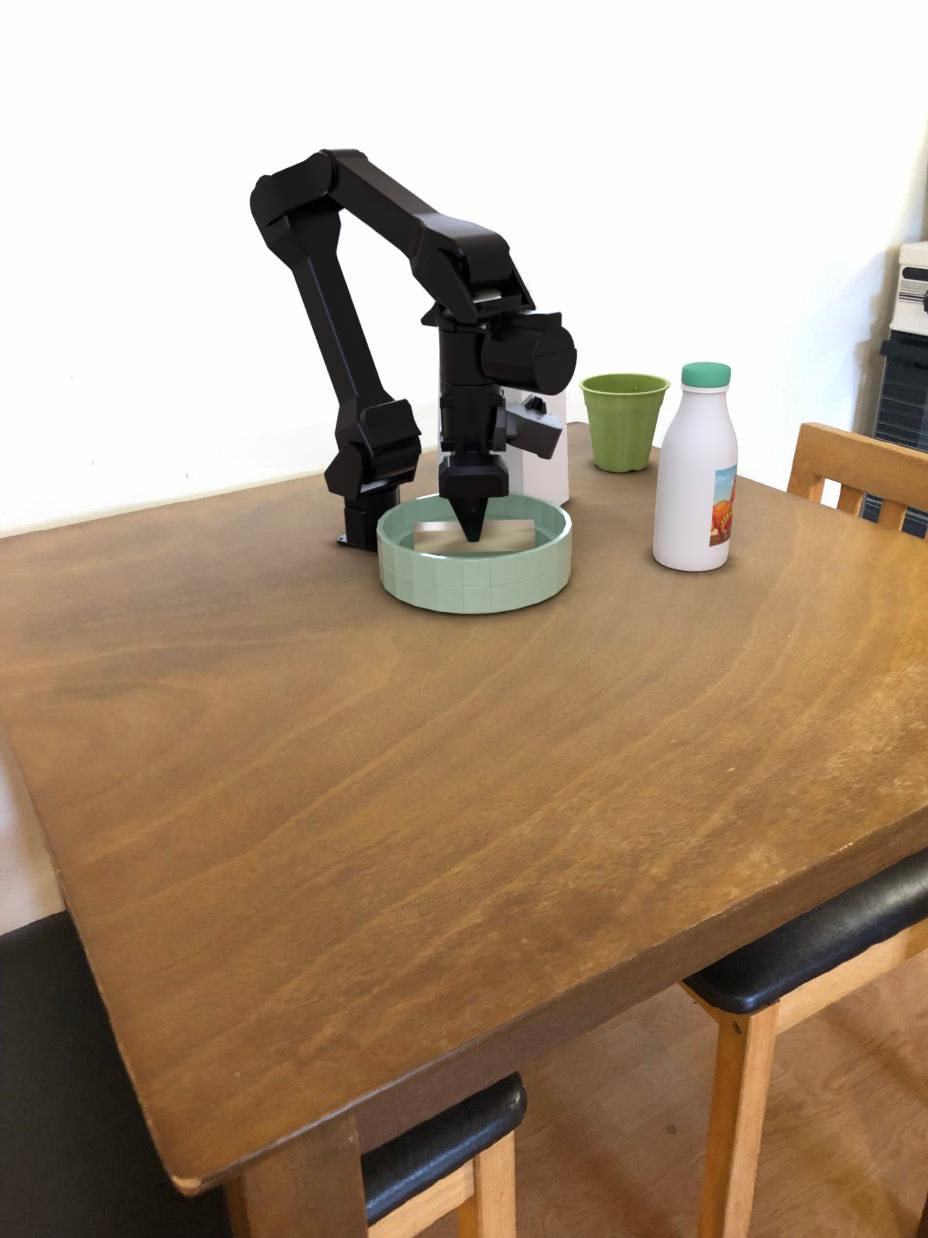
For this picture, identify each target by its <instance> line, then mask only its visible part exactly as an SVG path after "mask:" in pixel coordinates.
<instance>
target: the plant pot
mask: <svg viewBox="0 0 928 1238" xmlns="http://www.w3.org/2000/svg"><path fill="white" fill-rule="evenodd" d="M671 385H672V384H671V381H670V380H668V379H667V378H665V377H662V376H659V375H655V374H648V373H640V372H639V373H637V372H610V373H609V372H608V373H600V374H595V375H591V376H588V377H584V378H583V379H581V380H580V381H579V382H578V388H580V390H582V395H583V401H584V405H585V407H586V412H587V413H586V414H587V419H588V427H589V435H590V442H591V449H592V457H593V463H594V466H597V468H599V469H600V470H603V471H605V472H614V473H619V474H622V473H627V472H629V471H632V470H634V471H641V470H643V469H645V468H646V467H647V466H648V464H649V460H650V456H651V452H652V447H653V443H654V442H653V441H654V437H655V433H656V429H657V423H658V420H659V416H660V410H661V407H662V406H663V403H664V400H665V396H666V392H667V390H668V389H669V388H670V387H671Z"/></svg>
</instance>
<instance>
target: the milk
mask: <svg viewBox="0 0 928 1238" xmlns="http://www.w3.org/2000/svg"><path fill="white" fill-rule="evenodd" d="M523 282H524V284H525V286H526V288H527V290H528V291H529V294H530V296H531V298H532V300H533V302H534V303H535V306H536V310H535V311H539V312H541V310H540V309H538V305H537V302H536V300H535V297H534V294H533V291H532V288H531V285H530V282H529V281H527V280H523ZM498 298H501V297H500V296H498V297H496V298H493V299H498ZM488 300H492V299H488ZM482 301H486V300H482ZM477 302H481V301H477ZM474 303H475V302H474ZM439 380H440V379H439V378H438V391H437V392H438V393H437V394H438V396H437V398H438V399H437V401H438V402H437V460H436V461H437V463H436V465H437V466H436V467H437V470H436V494H437V493H439V482H438V472H439V465H440V464H441V458H442V457H443V456H448V455H450V452H441V444H440V424H441V410H440V382H439ZM501 388H503V389H504V396H505V398H506V401H508V402H511V403H515V402H518V403H520V404H521V403H522V402H523V401H524V400H525V399H526V398H527V397H528V396H529V395H530V394H533V395H536V396H539V397H542V398H544V399H545V402H546V409H547V414H554V416H555V417H556V418H558V419H559V420H560V422H561V425H562V427H563V430H562V432H561V435H560V438H559V440H558V443H557V445H556V448H555V450H554V453H553V455H552V458H551V459H550V460H546V459H542V458H539V457H538V456H537V454H534V453H531V452H528V451H525V450H522V449H519V448H516V447H513V446H510V445H508V444H507V443H506V452H493V451H490V454H497V455H500V456H501V459H503V460H504V461H505V462H506V463H507V467H508V472H509V492H514V493H520V494H527V495H531V496H534V497H538V498H541V499H545V500H548V501H550V502H552V503H554V504H556V505H558V506H560V507H561V506H562V505H563V504H565V503H566V502H568V501H569V500H570V491H569V488H570V487H569V485H570V484H569V457H568V454H569V453H568V427H567V424H568V423H567V396H566V395H567V392H566V389H567V388H565V389H564V390H563V391H562V392H561V393H559V394H558V395H555V396H548V395H543V394H538V393H533V392H528V391H522V390H517V389H512V388H507V387H502V386H501Z"/></svg>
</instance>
